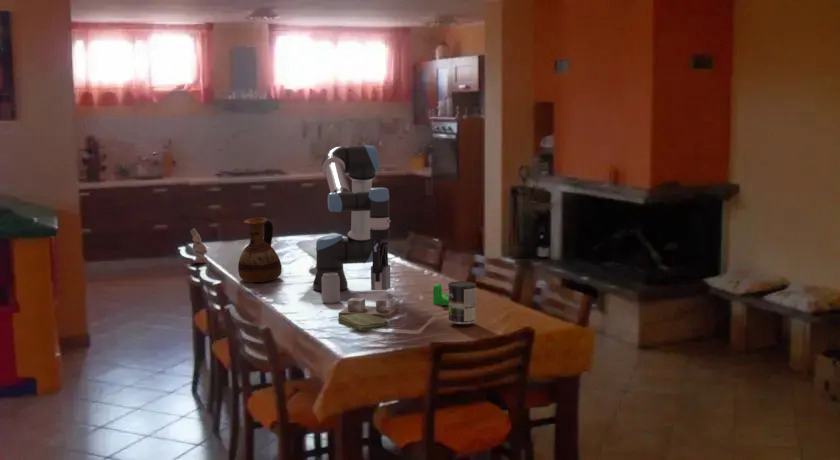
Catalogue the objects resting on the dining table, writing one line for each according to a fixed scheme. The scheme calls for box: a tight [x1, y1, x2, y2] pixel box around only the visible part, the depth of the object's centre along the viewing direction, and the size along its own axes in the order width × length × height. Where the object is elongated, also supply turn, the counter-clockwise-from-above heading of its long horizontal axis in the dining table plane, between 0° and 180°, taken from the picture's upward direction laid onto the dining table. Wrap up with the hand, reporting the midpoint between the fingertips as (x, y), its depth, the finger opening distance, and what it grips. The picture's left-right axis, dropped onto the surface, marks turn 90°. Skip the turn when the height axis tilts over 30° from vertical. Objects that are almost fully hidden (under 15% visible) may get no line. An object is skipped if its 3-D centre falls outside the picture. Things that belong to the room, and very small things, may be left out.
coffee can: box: [447, 280, 477, 325], centre depth 347 cm, size 10×10×14 cm
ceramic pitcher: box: [237, 216, 283, 283], centre depth 436 cm, size 20×20×30 cm
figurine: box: [190, 228, 208, 264], centre depth 481 cm, size 9×8×20 cm
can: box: [321, 273, 341, 305], centre depth 386 cm, size 8×8×12 cm
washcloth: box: [337, 313, 389, 331], centre depth 345 cm, size 13×18×3 cm
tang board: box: [338, 297, 400, 320], centre depth 362 cm, size 20×14×6 cm
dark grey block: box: [370, 264, 391, 291], centre depth 360 cm, size 6×6×9 cm
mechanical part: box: [432, 283, 449, 306], centre depth 384 cm, size 12×6×8 cm, turn 163°
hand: (380, 288), depth 360 cm, fingers closed on dark grey block, 6 cm apart
